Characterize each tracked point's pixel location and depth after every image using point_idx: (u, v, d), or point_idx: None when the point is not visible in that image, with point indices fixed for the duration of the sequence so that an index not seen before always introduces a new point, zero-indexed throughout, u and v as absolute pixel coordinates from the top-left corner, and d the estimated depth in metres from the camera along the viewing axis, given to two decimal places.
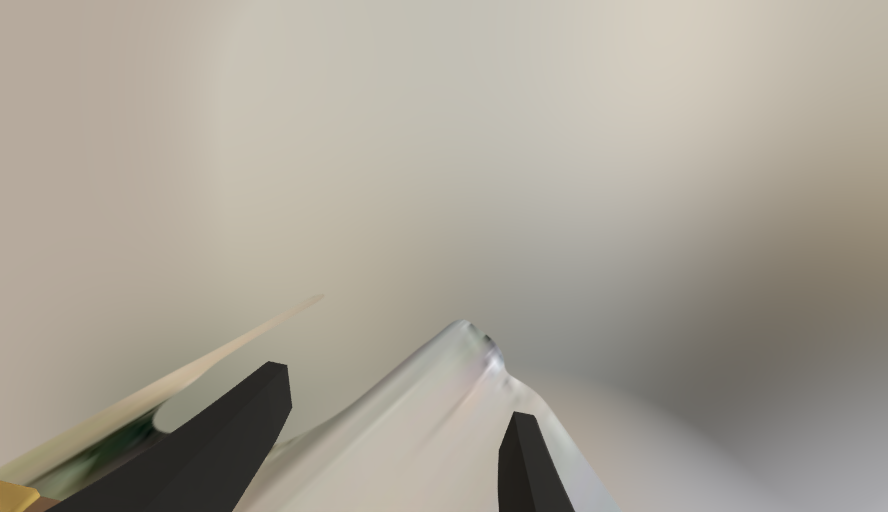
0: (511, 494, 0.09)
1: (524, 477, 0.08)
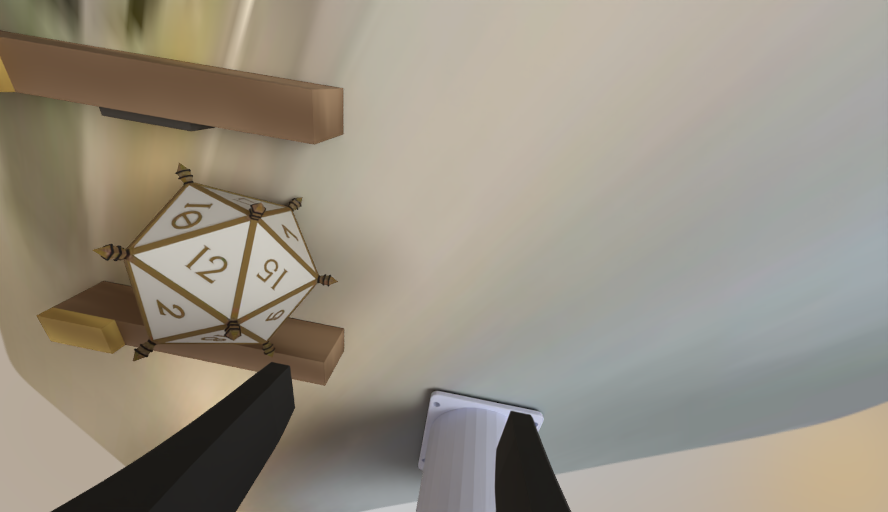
0: (507, 493, 0.09)
1: (521, 476, 0.08)
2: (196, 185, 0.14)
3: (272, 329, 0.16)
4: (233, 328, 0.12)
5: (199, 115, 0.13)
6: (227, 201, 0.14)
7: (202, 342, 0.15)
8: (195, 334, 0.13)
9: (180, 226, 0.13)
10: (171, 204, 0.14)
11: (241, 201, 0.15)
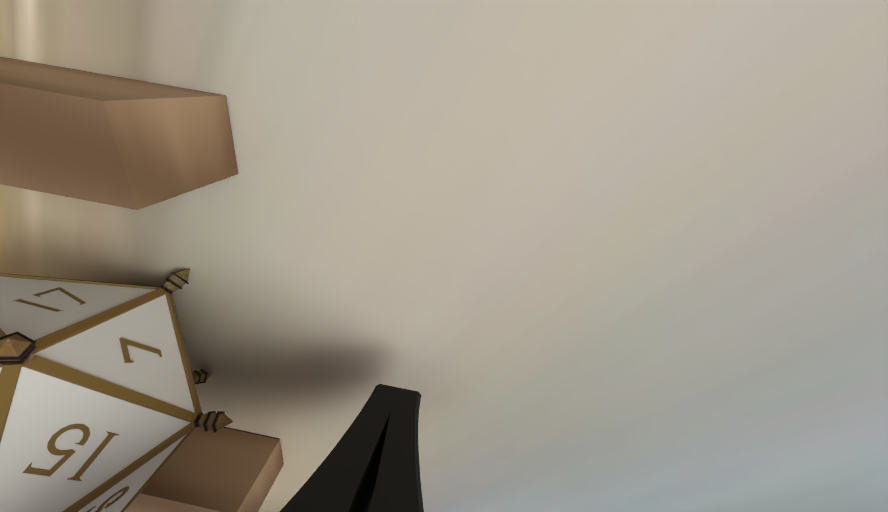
0: None
1: (383, 447, 0.08)
2: None
3: (116, 509, 0.09)
4: None
5: None
6: None
7: None
8: None
9: None
10: None
11: (37, 301, 0.08)
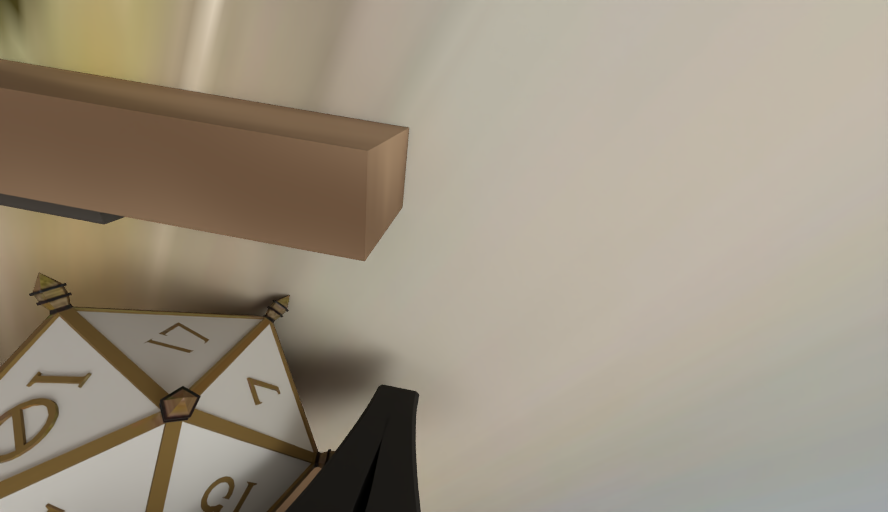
0: None
1: (381, 447, 0.08)
2: (73, 317, 0.07)
3: None
4: None
5: (114, 198, 0.06)
6: (125, 364, 0.07)
7: None
8: None
9: None
10: (2, 376, 0.06)
11: (166, 341, 0.08)
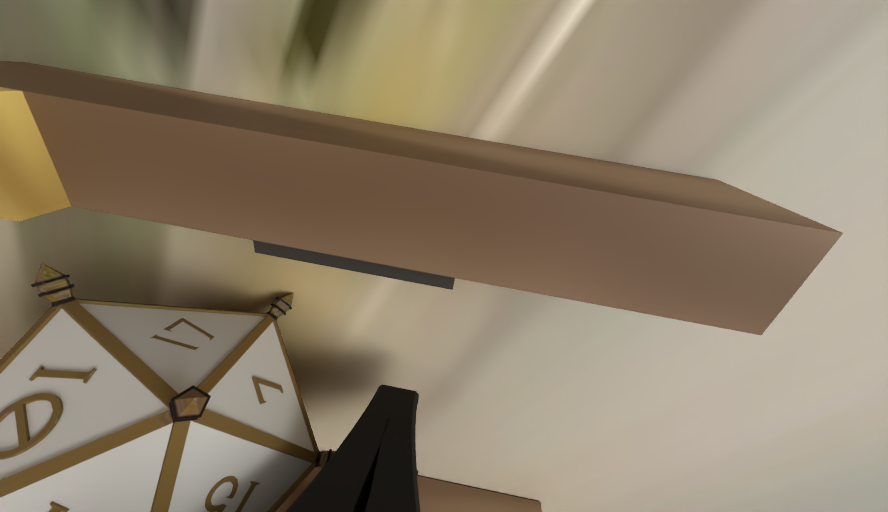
0: None
1: (380, 447, 0.08)
2: (76, 310, 0.07)
3: None
4: None
5: (496, 268, 0.06)
6: (131, 360, 0.06)
7: None
8: None
9: (1, 446, 0.05)
10: (3, 368, 0.06)
11: (172, 337, 0.08)
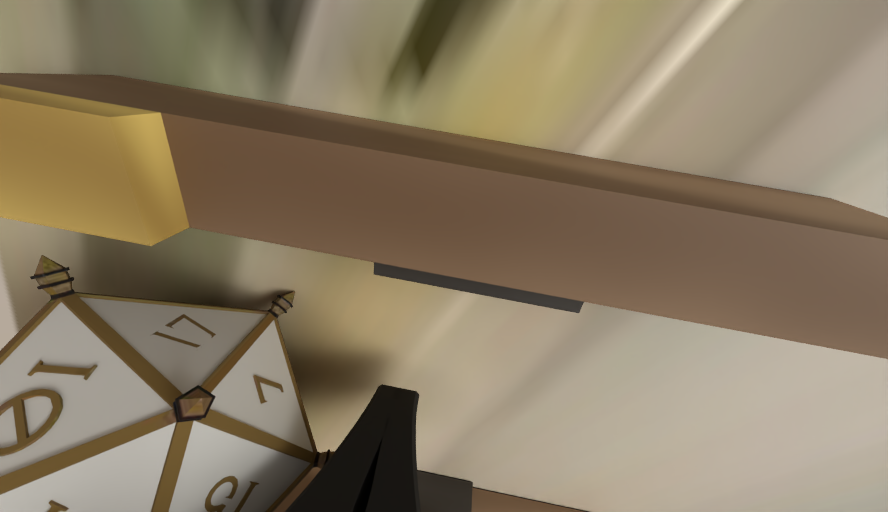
0: None
1: (380, 447, 0.08)
2: (76, 304, 0.07)
3: None
4: None
5: (636, 294, 0.06)
6: (133, 357, 0.06)
7: None
8: None
9: (0, 443, 0.05)
10: (1, 362, 0.06)
11: (173, 334, 0.07)
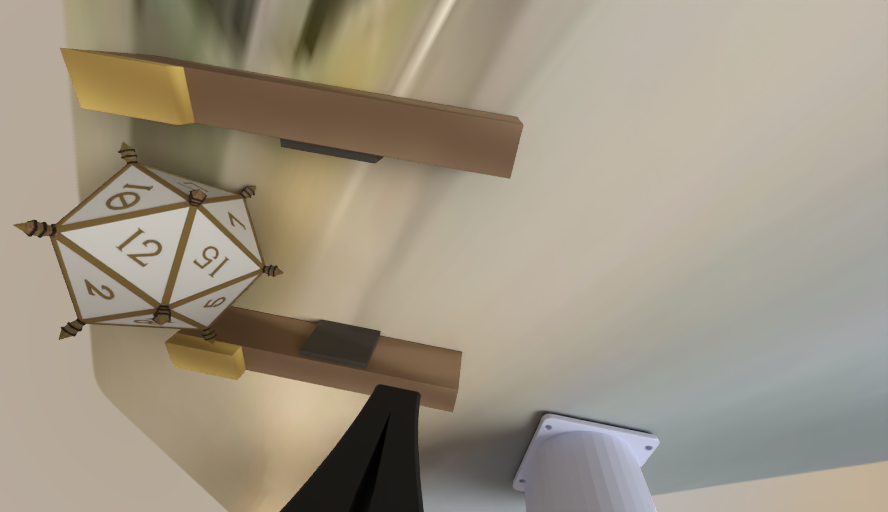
0: None
1: (383, 447, 0.08)
2: (139, 166, 0.14)
3: (213, 316, 0.16)
4: (162, 313, 0.12)
5: (391, 148, 0.13)
6: (169, 185, 0.14)
7: (136, 324, 0.15)
8: (125, 316, 0.13)
9: (116, 206, 0.13)
10: (109, 183, 0.13)
11: (186, 185, 0.15)
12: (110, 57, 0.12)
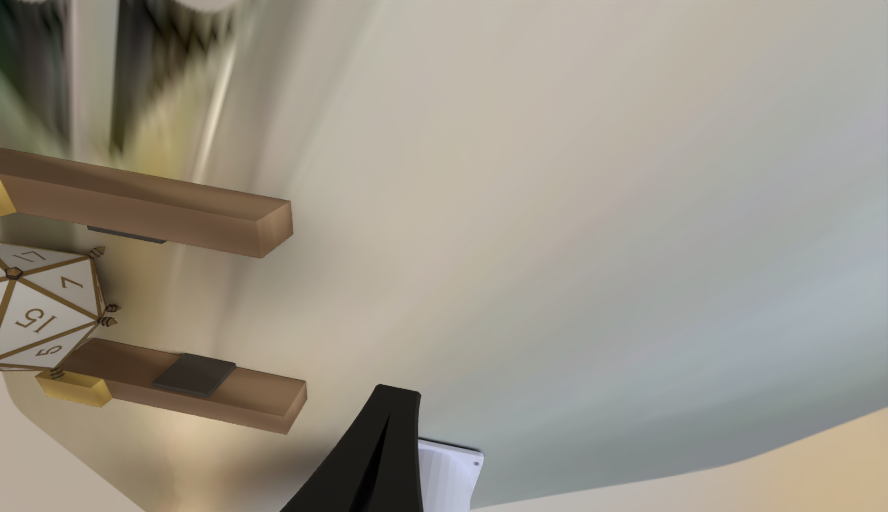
0: None
1: (383, 447, 0.08)
2: None
3: (55, 359, 0.19)
4: None
5: (167, 234, 0.16)
6: None
7: None
8: None
9: None
10: None
11: (23, 256, 0.18)
12: None
